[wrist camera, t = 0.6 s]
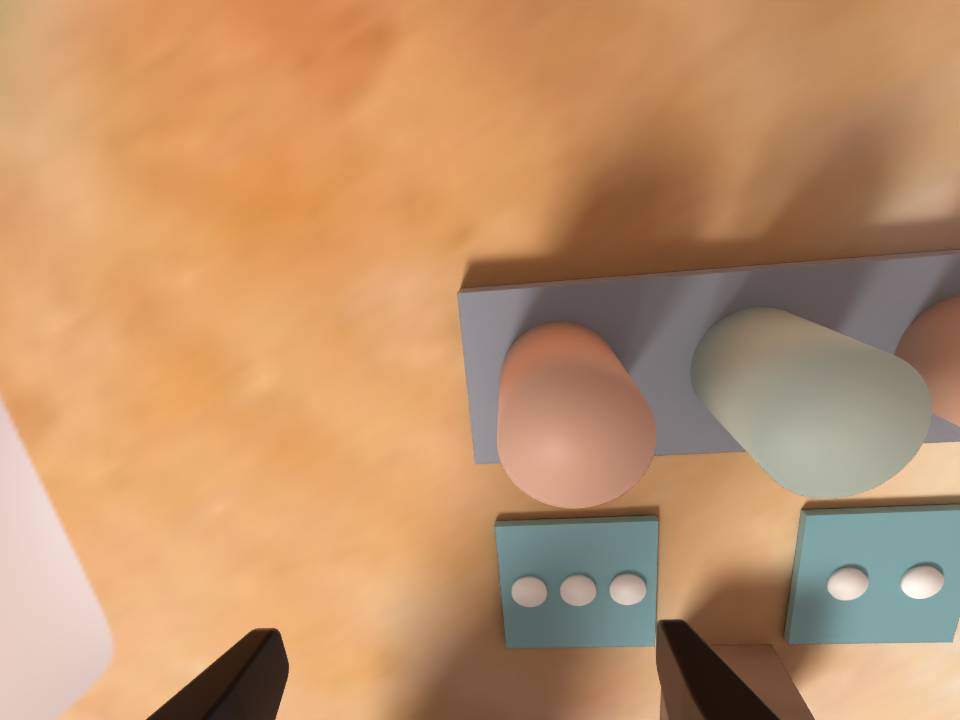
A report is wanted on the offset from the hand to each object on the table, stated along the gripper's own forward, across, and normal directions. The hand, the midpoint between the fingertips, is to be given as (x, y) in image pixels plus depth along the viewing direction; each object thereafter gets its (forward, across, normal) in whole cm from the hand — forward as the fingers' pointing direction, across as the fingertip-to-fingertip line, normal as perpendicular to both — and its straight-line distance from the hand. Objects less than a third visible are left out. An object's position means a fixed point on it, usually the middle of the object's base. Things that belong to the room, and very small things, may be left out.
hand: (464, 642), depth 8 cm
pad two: (+12, -16, +10) cm, 22 cm away
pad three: (+12, -3, +10) cm, 16 cm away
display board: (+12, -10, 0) cm, 15 cm away
